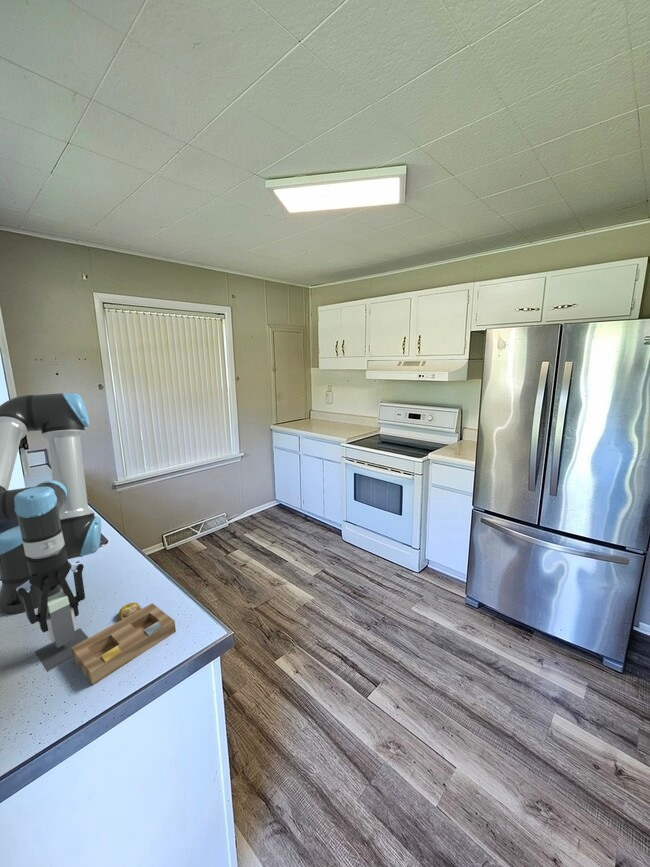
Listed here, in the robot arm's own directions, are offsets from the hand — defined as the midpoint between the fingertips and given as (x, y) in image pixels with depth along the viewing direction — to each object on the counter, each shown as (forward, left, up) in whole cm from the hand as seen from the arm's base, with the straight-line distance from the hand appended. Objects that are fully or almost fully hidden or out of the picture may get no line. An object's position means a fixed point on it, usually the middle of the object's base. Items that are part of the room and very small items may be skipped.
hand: (62, 633), depth 90 cm
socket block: (+13, +10, -4) cm, 16 cm away
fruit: (+3, +15, -5) cm, 16 cm away
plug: (0, 0, -2) cm, 2 cm away
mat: (+1, 0, -4) cm, 4 cm away
